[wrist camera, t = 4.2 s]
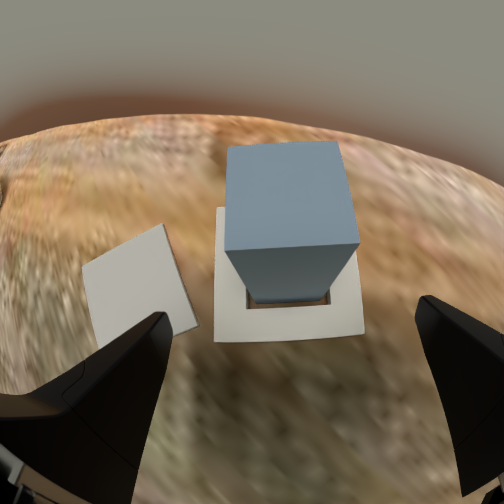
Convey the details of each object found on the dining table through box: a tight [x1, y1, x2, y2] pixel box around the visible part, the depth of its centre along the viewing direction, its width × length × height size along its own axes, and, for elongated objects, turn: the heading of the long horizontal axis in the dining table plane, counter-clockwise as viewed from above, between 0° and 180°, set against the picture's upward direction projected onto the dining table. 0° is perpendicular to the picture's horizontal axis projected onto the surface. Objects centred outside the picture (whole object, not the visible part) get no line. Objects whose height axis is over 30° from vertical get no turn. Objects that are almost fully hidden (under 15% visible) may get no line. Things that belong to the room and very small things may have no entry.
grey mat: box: [82, 223, 199, 349], centre depth 22 cm, size 10×10×1 cm
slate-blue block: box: [224, 141, 360, 304], centre depth 16 cm, size 5×5×12 cm
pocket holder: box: [214, 207, 365, 343], centre depth 21 cm, size 11×11×2 cm
